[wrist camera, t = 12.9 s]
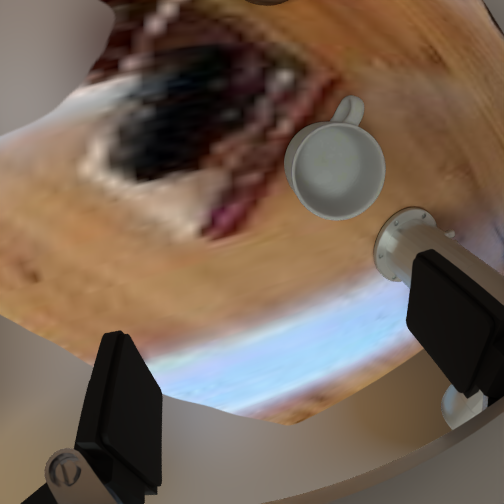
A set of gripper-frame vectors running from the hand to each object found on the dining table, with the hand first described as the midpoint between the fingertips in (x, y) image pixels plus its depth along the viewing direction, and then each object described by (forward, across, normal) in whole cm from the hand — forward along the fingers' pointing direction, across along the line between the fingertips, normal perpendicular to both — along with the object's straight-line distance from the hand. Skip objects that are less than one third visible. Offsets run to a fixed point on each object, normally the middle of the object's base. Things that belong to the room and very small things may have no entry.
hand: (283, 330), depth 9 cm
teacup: (+31, -13, +1) cm, 33 cm away
